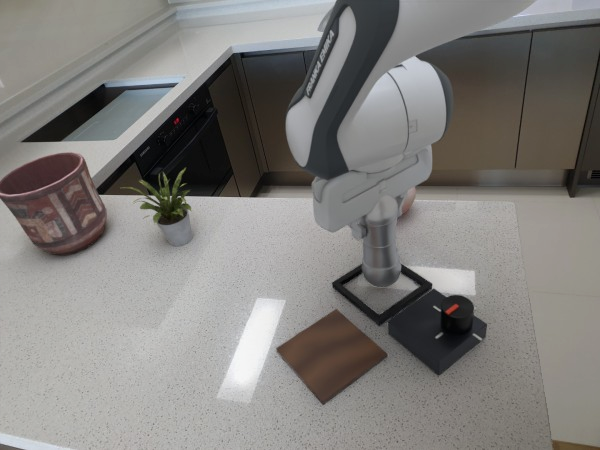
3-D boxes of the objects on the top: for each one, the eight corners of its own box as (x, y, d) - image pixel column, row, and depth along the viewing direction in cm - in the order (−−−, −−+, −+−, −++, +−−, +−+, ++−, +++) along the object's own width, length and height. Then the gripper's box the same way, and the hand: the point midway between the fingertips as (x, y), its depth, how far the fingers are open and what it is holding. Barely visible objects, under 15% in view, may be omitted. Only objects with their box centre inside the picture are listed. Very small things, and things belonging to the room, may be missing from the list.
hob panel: (499, 337, 67) (501, 323, 65) (446, 382, 63) (446, 368, 61) (438, 297, 75) (439, 283, 73) (388, 333, 71) (387, 320, 69)
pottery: (99, 259, 99) (60, 189, 88) (24, 268, 101) (-23, 200, 90) (126, 212, 113) (95, 146, 102) (59, 220, 115) (22, 157, 104)
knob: (454, 306, 69) (455, 288, 67) (479, 323, 66) (481, 305, 64) (434, 322, 68) (434, 304, 65) (458, 339, 64) (459, 321, 62)
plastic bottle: (400, 264, 79) (395, 162, 68) (403, 292, 74) (399, 187, 62) (362, 266, 81) (351, 167, 69) (363, 294, 75) (351, 191, 64)
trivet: (387, 356, 68) (387, 353, 67) (323, 405, 63) (322, 401, 63) (336, 311, 76) (336, 308, 76) (276, 351, 72) (275, 348, 71)
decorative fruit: (423, 220, 92) (423, 177, 86) (385, 230, 91) (382, 188, 85) (404, 196, 100) (403, 156, 94) (368, 206, 99) (365, 165, 93)
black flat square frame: (432, 288, 77) (432, 283, 76) (379, 326, 72) (378, 321, 72) (382, 255, 86) (382, 250, 85) (332, 287, 81) (331, 282, 80)
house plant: (138, 269, 94) (106, 203, 84) (146, 230, 105) (118, 168, 95) (207, 254, 94) (183, 187, 85) (207, 216, 106) (186, 153, 96)
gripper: (325, 184, 57) (337, 268, 65) (440, 124, 64) (439, 206, 72) (296, 167, 61) (311, 248, 69) (407, 114, 69) (409, 191, 77)
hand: (377, 226), depth 71 cm, fingers closed on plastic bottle, 6 cm apart
